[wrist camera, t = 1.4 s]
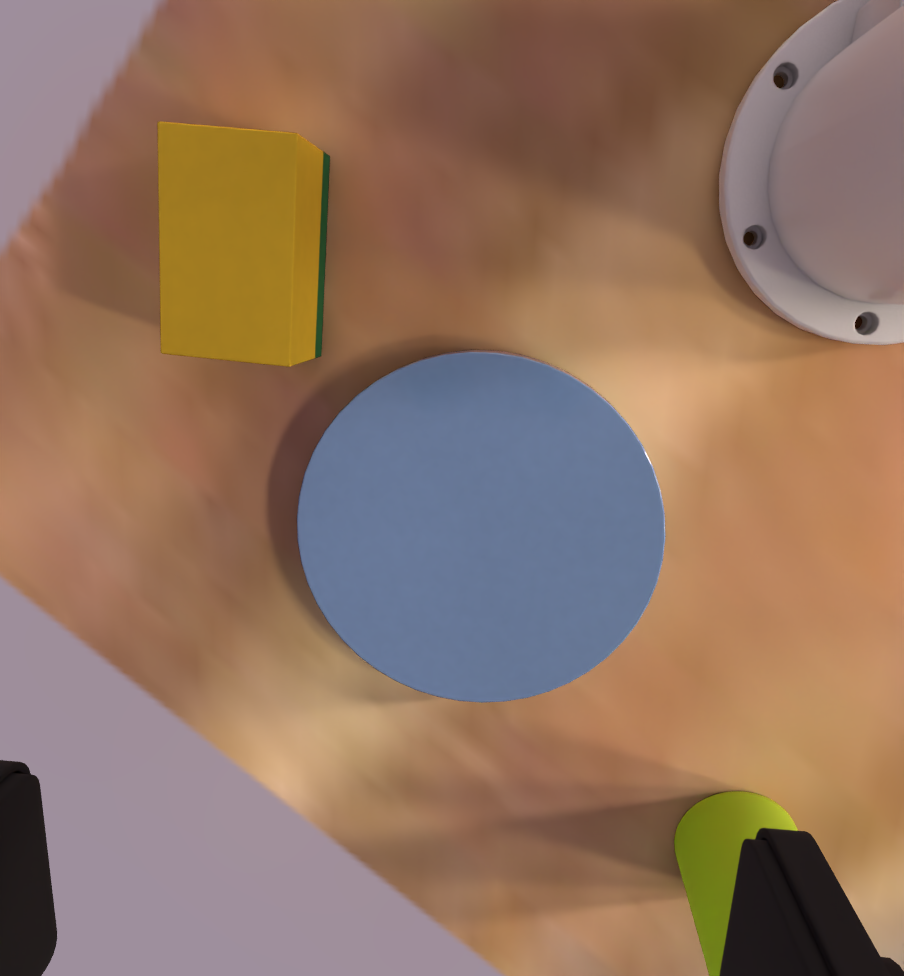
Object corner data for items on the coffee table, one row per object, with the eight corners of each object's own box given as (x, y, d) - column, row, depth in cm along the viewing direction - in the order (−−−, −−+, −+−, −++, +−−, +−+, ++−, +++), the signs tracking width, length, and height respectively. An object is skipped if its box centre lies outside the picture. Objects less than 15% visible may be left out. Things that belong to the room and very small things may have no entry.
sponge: (208, 145, 30) (156, 120, 25) (330, 155, 30) (297, 132, 25) (208, 345, 32) (160, 353, 28) (321, 356, 32) (290, 367, 27)
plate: (311, 331, 31) (303, 333, 30) (690, 369, 30) (696, 372, 29) (297, 667, 36) (290, 679, 35) (630, 709, 35) (633, 724, 34)
